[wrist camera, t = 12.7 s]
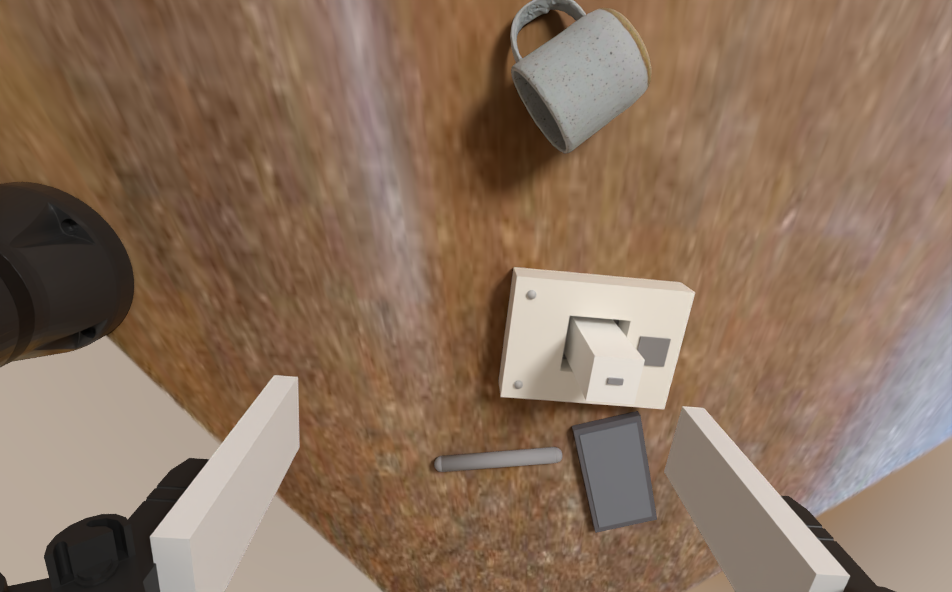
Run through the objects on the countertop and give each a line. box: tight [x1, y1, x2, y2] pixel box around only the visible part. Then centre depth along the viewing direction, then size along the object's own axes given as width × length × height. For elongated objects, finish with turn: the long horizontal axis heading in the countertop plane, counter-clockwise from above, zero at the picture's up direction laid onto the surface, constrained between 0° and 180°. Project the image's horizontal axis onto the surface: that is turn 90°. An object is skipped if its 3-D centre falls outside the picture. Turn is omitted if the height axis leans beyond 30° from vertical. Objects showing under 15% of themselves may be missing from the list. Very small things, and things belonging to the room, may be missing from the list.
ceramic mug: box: [510, 0, 651, 153], centre depth 35 cm, size 11×8×8 cm
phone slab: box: [572, 411, 657, 532], centre depth 52 cm, size 7×14×1 cm, turn 14°
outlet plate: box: [499, 267, 695, 409], centre depth 45 cm, size 16×12×3 cm
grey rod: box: [434, 447, 562, 472], centre depth 51 cm, size 14×2×2 cm, turn 94°
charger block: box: [564, 316, 645, 404], centre depth 42 cm, size 4×4×9 cm
